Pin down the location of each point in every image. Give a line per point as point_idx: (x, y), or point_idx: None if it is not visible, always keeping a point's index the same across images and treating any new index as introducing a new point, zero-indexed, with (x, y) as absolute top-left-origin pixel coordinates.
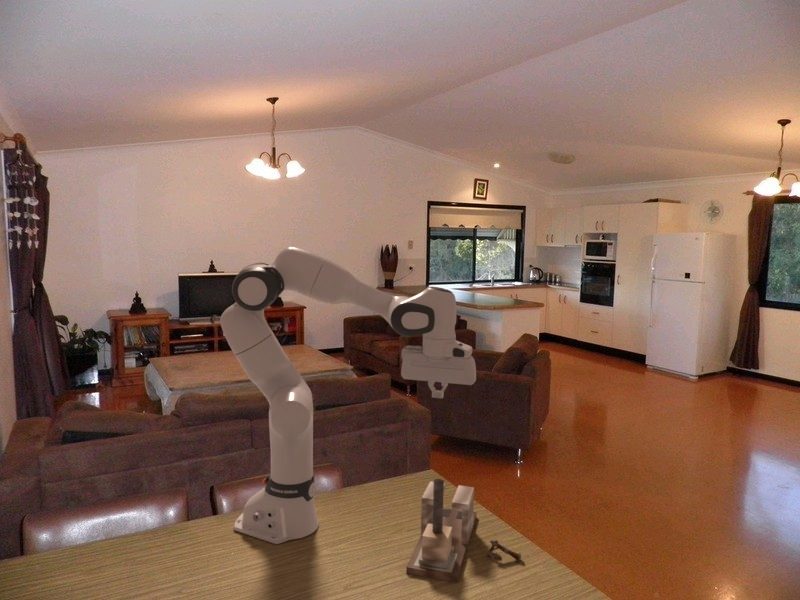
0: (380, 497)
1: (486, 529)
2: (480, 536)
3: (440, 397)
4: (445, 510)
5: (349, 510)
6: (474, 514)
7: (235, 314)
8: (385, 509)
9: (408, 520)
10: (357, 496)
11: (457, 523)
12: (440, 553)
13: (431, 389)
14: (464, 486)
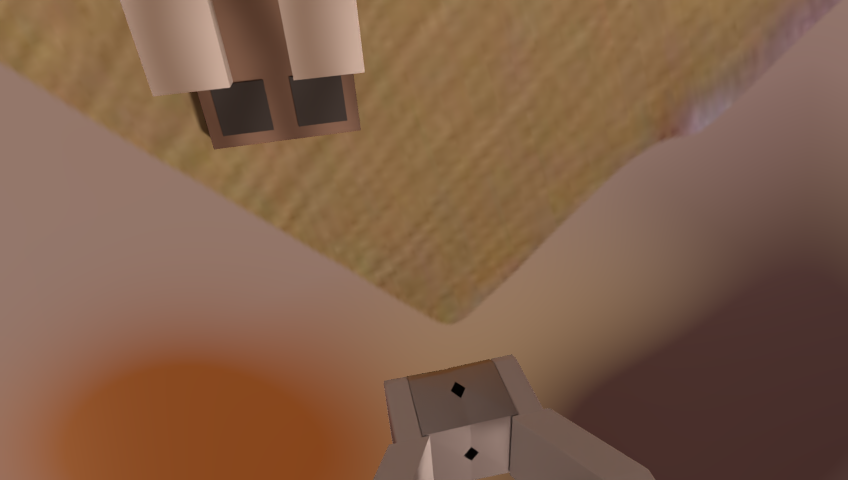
0: (542, 133)
1: None
2: None
3: (407, 380)
4: (316, 114)
5: (614, 10)
6: (214, 132)
7: None
8: (508, 66)
9: (418, 27)
10: (609, 108)
11: (242, 44)
12: None
13: (561, 427)
14: (200, 87)
